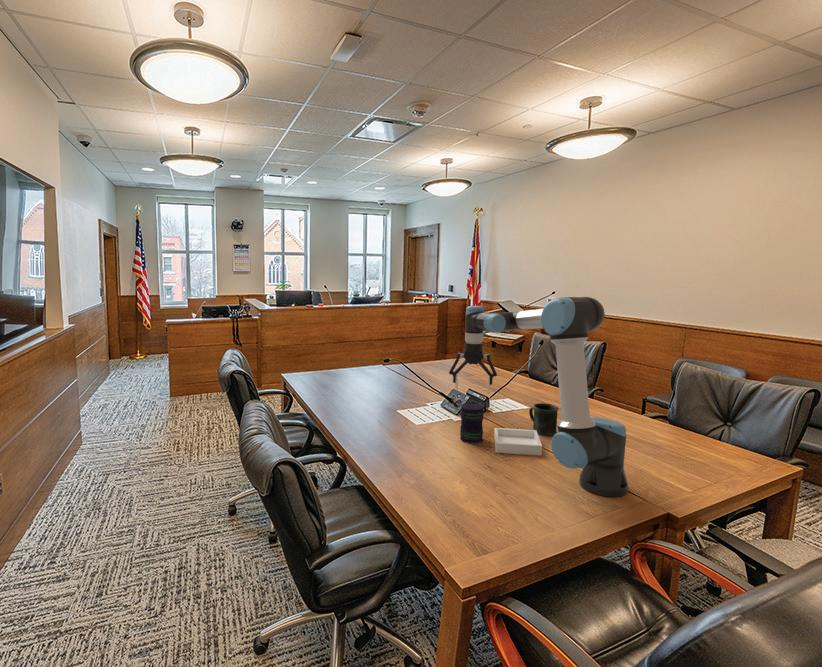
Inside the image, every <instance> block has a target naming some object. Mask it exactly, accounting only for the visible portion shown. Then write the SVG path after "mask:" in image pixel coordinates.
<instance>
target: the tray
mask: <svg viewBox="0 0 822 667" xmlns="http://www.w3.org/2000/svg"><path fill="white" fill-rule="evenodd" d="M493 431H494V432H493V434H494V436H493V437H494V438H493V440H494V439H495V440H494V446H495V453H498V454H499V453H501V454H515V455H526V456H527V455H528V456H543V444H542V442H541V439H540V436H539V434H538V433H537V431H536V430H533V429H522V428H520V429H519V428H505V427H504V428H501V427H494V430H493Z"/></svg>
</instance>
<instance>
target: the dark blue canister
mask: <svg viewBox="0 0 822 667" xmlns="http://www.w3.org/2000/svg"><path fill="white" fill-rule="evenodd" d="M460 419H461V420H460V429H459V430H460V431H459V433H460V435H459V436H460V438H459V439H460V441H461V440H462V442H463V441H464V442H463V443H466V442H468V443H467V444H479V442H480V443H481V441H482V442H483V436H484V427H483V420H484V405H483V404H480V403H476V402H465V403H462V404H461V405H460Z"/></svg>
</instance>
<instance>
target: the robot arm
mask: <svg viewBox="0 0 822 667" xmlns="http://www.w3.org/2000/svg"><path fill="white" fill-rule="evenodd" d="M605 314H606V312H605V309H604V307H603V304H602V302H600V301H599V300H597V299H596V298H593V297H589V296H565V297H563V296H562V297H556V298H553V299H550V300H549V301H548V302H547V303H546V304H545V306H544V307H543V308H537V309H528V310H519V311H506V312H485V308H484V307H483V306H482V305H469V306H467V307H466V310H465V328H464V329H465V333H464V334H465V335H464V336H465V337H464V341H465V343H464V353H461V352H457V354H456V358H455V359H454V360H455V361H454V362H453V363H452V364H453V365H452V366H451V368H450V369H449V372H448V374H449V375H452V384H455V390H454V391H455V392H458V384H459V383H458V381H459V379H458V378H459V374H458V373H460V372H461V371H462V370H463V368H464V367H465V366H466V365H467V364H469V365H475V366H476V365H479V366H480V367H481V368H482V369H483V371H485V373H486V374H487V375H488V376H487V385H486V386H487V387H486V388H487V390H486V392H487V393H490V385H493V378H494V377H498V372H497V370H496V368H495V367H494V364H493V362H492V360H491V355H490V354H489V353H487V354H483V350H484V349H483V348H484V347H483V345H484V344H483V342H484V332H489V333H493V334H495V333H497V334H499V333H501V332H503V331H521V330H533V329H537V330H538V329H543V330H544V332H545V333H546V334H548V335H549V340H550V342H551V343H552V344H554V346H555V356H556V366H557V368H556V369H557V378H558V390H559V392H558V393H559V402H560V403H559V404H560V405H559V406H560V414H561V415H560V416H561V417H560V418H561V419H560V420H559V421H557V432H556V434H554V435H552V437H551V439H550V440H551V441H550V447H551V451H552V454H553V455H554V458H555V459H556V460H557V461H558V462H559V463H560V464H561V465H562V466H564V467H565V468H568V469H573V470H575V469H582V470H581V472H580V474H579V480H578V483H579V485H580V487H582V488H583V489H584V490H585V491H587V492H589V493H590V494H591V493H592V494H594V495H598V496H600V497H601V496H603V497H609V498H618V497H624V496H625V495H627V494H628V493H629V492H628V490H629V482H628V478H627V475H626V472H625V469H624V465H625V452H626V441H627V428H626V426H625V425H624V424H623V423H621V422H619V421H617V420H612V419H610V418H604V417H591V416H590V415H591V414H590V404H589V393H588V392H589V390H588V379H587V366H586V355H585V342H586V341H587V340H588V339H589V332H593V331H595V330H597V329H598V328H599V327H601V325H602V324H603V322H604V320H605ZM462 358H463V359H465V360H464V361H463V362H462V363H461V364H460V365H459V366H458V368H456V366H457V364H458V363H459V361H460V359H462ZM483 359H485V360H486V361H487V363H488V365H489V367H490V369H491V371H490V370H489V369H488V367H487V366H486V364H484V362H483ZM455 368H456V370H455Z"/></svg>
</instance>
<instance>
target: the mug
mask: <svg viewBox="0 0 822 667" xmlns="http://www.w3.org/2000/svg"><path fill="white" fill-rule="evenodd" d="M559 410H560V409H559V407H558V406H556V405H555V404H551V403H546V402H544V403H543V402H541V403H535V404H533V406H531V407H530V408H529V411H528V413H529V419H530V421H531V422H533V426H532V430H536V431H537V433H538V435H541V436H554V435H555V434H556V433H557V432H558V428H557V423H558V411H559Z"/></svg>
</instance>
